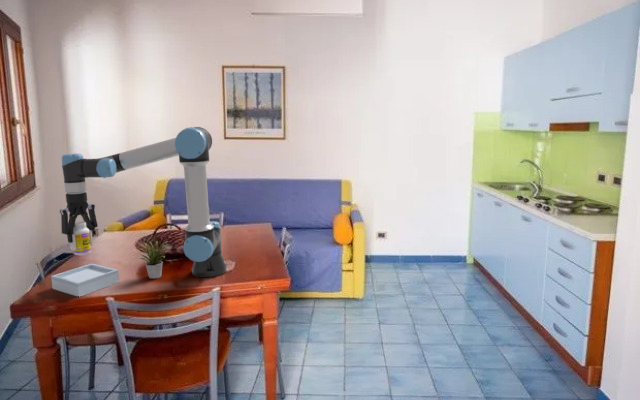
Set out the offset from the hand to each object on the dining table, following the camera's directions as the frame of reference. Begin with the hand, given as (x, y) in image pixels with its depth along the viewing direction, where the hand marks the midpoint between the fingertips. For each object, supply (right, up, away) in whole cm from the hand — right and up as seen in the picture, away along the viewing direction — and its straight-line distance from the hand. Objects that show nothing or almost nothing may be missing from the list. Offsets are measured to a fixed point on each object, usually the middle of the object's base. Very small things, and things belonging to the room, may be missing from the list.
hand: (82, 247), depth 187 cm
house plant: (+27, -14, +13) cm, 33 cm away
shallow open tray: (0, -16, +3) cm, 17 cm away
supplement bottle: (0, -3, 0) cm, 3 cm away
